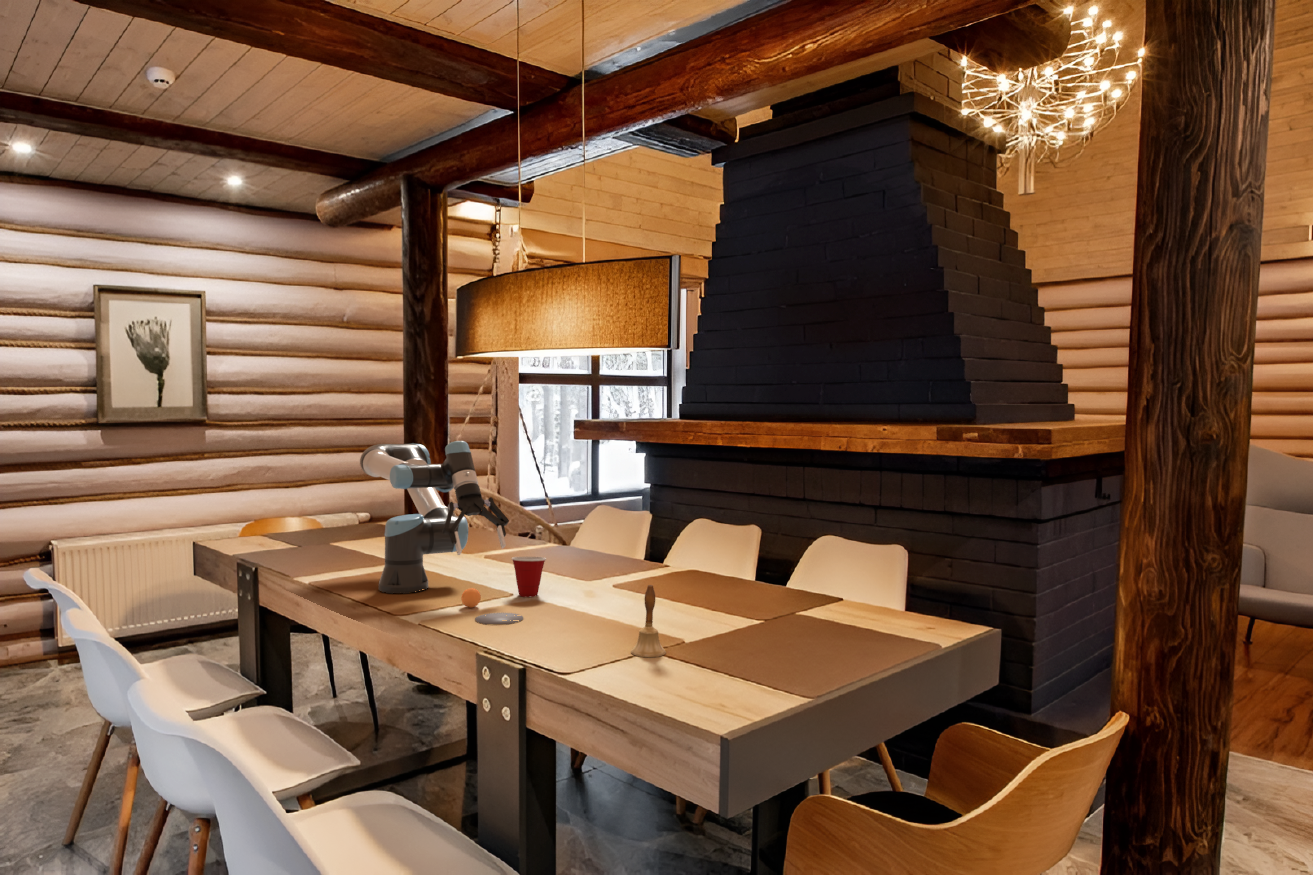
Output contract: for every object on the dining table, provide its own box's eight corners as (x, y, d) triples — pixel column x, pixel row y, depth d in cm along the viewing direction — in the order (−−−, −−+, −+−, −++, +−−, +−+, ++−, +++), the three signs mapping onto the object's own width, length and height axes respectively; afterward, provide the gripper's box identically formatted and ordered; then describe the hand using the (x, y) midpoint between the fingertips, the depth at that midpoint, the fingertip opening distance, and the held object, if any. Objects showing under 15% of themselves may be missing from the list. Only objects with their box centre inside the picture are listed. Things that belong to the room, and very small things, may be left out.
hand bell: (646, 645, 197) (647, 580, 197) (672, 652, 192) (674, 585, 192) (623, 653, 191) (624, 585, 190) (650, 660, 186) (651, 590, 185)
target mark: (466, 617, 222) (466, 616, 222) (508, 611, 230) (508, 610, 230) (488, 627, 212) (488, 626, 212) (532, 620, 220) (532, 619, 220)
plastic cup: (549, 592, 257) (550, 554, 257) (541, 599, 246) (541, 560, 246) (516, 590, 258) (516, 553, 258) (506, 598, 247) (507, 559, 247)
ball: (457, 606, 235) (458, 587, 235) (475, 604, 238) (475, 585, 238) (466, 610, 230) (466, 591, 230) (484, 607, 234) (484, 588, 234)
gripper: (428, 486, 243) (443, 551, 234) (508, 477, 255) (524, 539, 247) (424, 497, 248) (438, 561, 240) (501, 488, 261) (517, 548, 252)
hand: (482, 550), depth 243 cm, fingers open, 13 cm apart
